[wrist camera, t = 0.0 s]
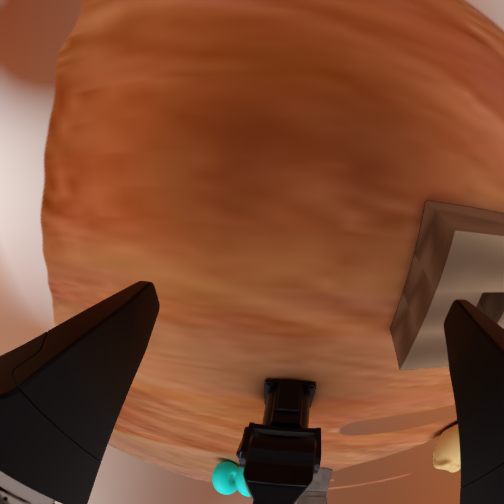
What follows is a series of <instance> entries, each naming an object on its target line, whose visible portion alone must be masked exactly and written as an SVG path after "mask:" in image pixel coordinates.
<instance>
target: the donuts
mask: <svg viewBox="0 0 504 504" xmlns="http://www.w3.org/2000/svg"><path fill="white" fill-rule="evenodd" d="M243 472H244V468H240V467H239V468H238V466H237V465H236V464H234V463H233V462H230V461H224V462H221V463H219V464H218V465H217V466H216V467H215V469H214V471H213V475H212V482H213V485H214V487H215V489H216V490H217V491H218V492H219V493H221V494H226V495H228V494H232V493H234V492H235V491H236V490H237V489H238V490H239V492H240V493H241V494H243V495H244V496H248V497H251V496H250V494H249V492H248V490H247V488H246V486H245V481H244V477H243Z"/></svg>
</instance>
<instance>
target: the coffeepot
mask: <svg viewBox="0 0 504 504" xmlns="http://www.w3.org/2000/svg"><path fill="white" fill-rule="evenodd" d="M331 474H332V470H331V469H328V468H319V471H318V473H317V474H314V475H313V481H312V482H311V484H310V485H309V487H308V488H307V490H306V491H305V492H304V494H303V495H302V496H301V497H300V498H299V499H298V501H297V504H327V498H326V493H327V490H328V485H329V482H330V478H331Z"/></svg>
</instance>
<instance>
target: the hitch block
mask: <svg viewBox="0 0 504 504" xmlns="http://www.w3.org/2000/svg"><path fill="white" fill-rule="evenodd" d="M456 299H465V300H467V301H469V302H470V303H471V304H473V305H474V306H475V307H477V308H478V309H479V310H481V311H482V312H483V313H484V314H486V315H487V316H488V317H490V318H491V319H492V320H493V321H495V322H496V323H497V324H498V325H500V326H501V327H502V328H503V329H504V213H500V212H495V211H489V210H484V209H478V208H472V207H466V206H460V205H453V204H446V203H439V202H432V201H426V203H425V208H424V213H423V218H422V223H421V227H420V232H419V236H418V240H417V245H416V249H415V252H414V256H413V260H412V264H411V267H410V271H409V274H408V278H407V281H406V284H405V287H404V291H403V294H402V297H401V300H400V303H399V306H398V309H397V311H396V314H395V317H394V320H393V323H392V325H391V328H390V331H391V335H392V339H393V343H394V347H395V352H396V356H397V360H398V365H399V370H412V369H426V368H437V367H447V366H449V362H448V354H447V346H446V339H445V333H444V320H445V318H446V316H447V314H448V312H449V309H450V307H451V305H452V303H453V301H454V300H456Z"/></svg>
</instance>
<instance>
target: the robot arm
mask: <svg viewBox="0 0 504 504" xmlns="http://www.w3.org/2000/svg"><path fill="white" fill-rule="evenodd" d="M158 312H159V301H158V297H157V294H156V290H155V287H154V284H153V283H152V282H147V281H139V282H137V283H135V284H133V285H131V286H129V287H127V288H125V289H124V290H122V291H120V292H118V293H116V294H114V295H112V296H111V297H109V298H107V299H105V300H103V301H101V302H99V303H98V304H96V305H94V306H92V307H90V308H88V309H87V310H85V311H83V312H81V313H79V314H77V315H76V316H74V317H72V318H70V319H68V320H67V321H65V322H63V323H61V324H59V325H58V326H56V327H54V328H52V329H51V330H49V331H48V332H45V333H43V334H42V335H40V336H38V337H36V338H35V339H33V340H31V341H29V342H27V343H26V344H24V345H22V346H20V347H18V348H16V349H14V350H12V351H10V352H7V353H5V354H4V355H1V356H0V504H55V503H54V502H55V501H58V502H60V503H62V504H87V503H88V500H89V497H90V493H91V491H92V488H93V485H94V482H95V478H96V475H97V472H98V469H99V467H100V464H101V462H100V461H102V458H103V455H104V452H105V450H106V447H107V444H108V442H109V439H110V436H111V434H112V431H113V428H114V426H115V423H116V421H117V418H118V416H119V413H120V411H121V408H122V406H123V403H124V401H125V398H126V396H127V393H128V391H129V389H130V386H131V384H132V381H133V379H134V377H135V374H136V372H137V370H138V368H139V365H140V363H141V361H142V358H143V356H144V354H145V351H146V348H147V345H148V342H149V339H150V336H151V333H152V330H153V327H154V324H155V321H156V318H157V315H158ZM444 333H445V339H446V346H447V354H448V362H449V370H450V376H451V381H452V387H453V392H454V399H455V405H456V413H457V421H458V431H459V443H460V462H461V489H460V504H504V329H503V328H502V327H501V326H500V325H498V324H497V323H496V322H495V321H493V320H492V319H491V318H490V317H488V316H487V315H486V314H484V313H483V312H482V311H481V310H479V309H478V308H477V307H475V306H474V305H473V304H471V303H470V302H469V301H467V300H465V299H456V300H454V301H453V303H452V305H451V307H450V309H449V312H448V314H447V316H446V318H445V320H444ZM315 389H316V384H315V383H312V382H295V381H281V380H270V379H267V380H265V405H266V406H265V412H264V417H263V423H262V424H254V423H251V422H250V424H249V427H245V430H244V434H243V438H242V441H241V443H240V445H239V448H238V450H237V454H236V455H237V457H238V458H239V462H240V468H244V472H243V477H244V481H245V486H246V488H247V490H248V492H249V494H250V496H251V498H252V501H253V504H295V503H296V502H297V500H298V499H299V498H300V497H301V496H302V495H303V494H304V492H305V491H306V490H307V488H308V487H309V485H310V484H311V482H312V481H313V475H314V474H317V473H318V471H319V467H320V461H321V428H308V422H309V408H310V407H311V403H312V400H313V396H314V392H315Z"/></svg>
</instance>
